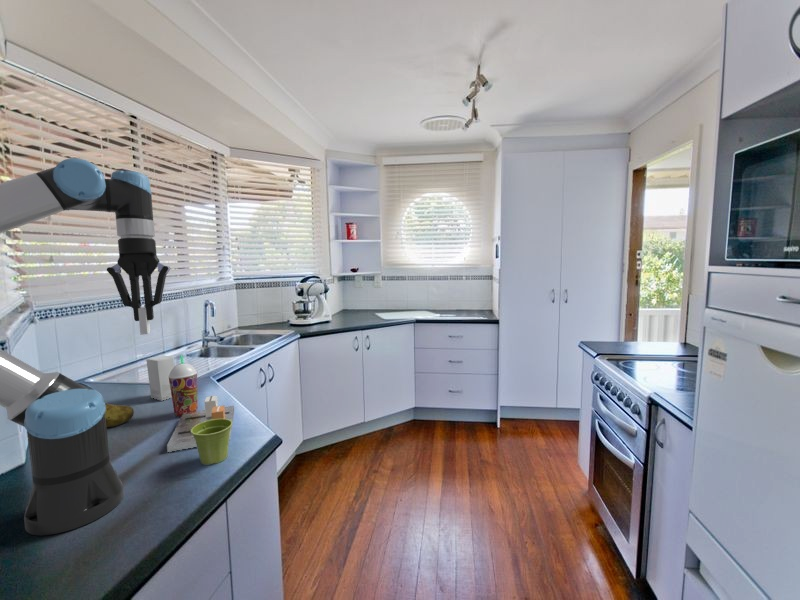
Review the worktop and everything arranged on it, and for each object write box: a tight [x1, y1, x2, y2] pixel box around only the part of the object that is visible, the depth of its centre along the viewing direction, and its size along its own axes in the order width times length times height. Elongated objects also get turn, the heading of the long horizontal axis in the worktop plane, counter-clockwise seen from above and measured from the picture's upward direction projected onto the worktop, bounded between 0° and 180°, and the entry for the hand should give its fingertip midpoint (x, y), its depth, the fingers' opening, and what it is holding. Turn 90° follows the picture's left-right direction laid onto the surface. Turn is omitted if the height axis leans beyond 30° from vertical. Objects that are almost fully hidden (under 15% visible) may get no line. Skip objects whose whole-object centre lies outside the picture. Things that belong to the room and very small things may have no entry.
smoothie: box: [168, 354, 198, 418], centre depth 125 cm, size 8×8×20 cm
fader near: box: [211, 405, 226, 420], centre depth 109 cm, size 3×5×5 cm, turn 21°
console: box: [166, 405, 235, 453], centre depth 112 cm, size 15×24×2 cm, turn 21°
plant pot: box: [191, 419, 234, 466], centre depth 94 cm, size 9×9×9 cm
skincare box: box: [146, 355, 176, 402], centre depth 142 cm, size 8×7×16 cm
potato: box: [105, 402, 135, 428], centre depth 117 cm, size 8×13×8 cm, turn 130°
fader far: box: [204, 395, 219, 418], centre depth 118 cm, size 3×5×5 cm, turn 21°
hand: (145, 333), depth 93 cm, fingers closed
